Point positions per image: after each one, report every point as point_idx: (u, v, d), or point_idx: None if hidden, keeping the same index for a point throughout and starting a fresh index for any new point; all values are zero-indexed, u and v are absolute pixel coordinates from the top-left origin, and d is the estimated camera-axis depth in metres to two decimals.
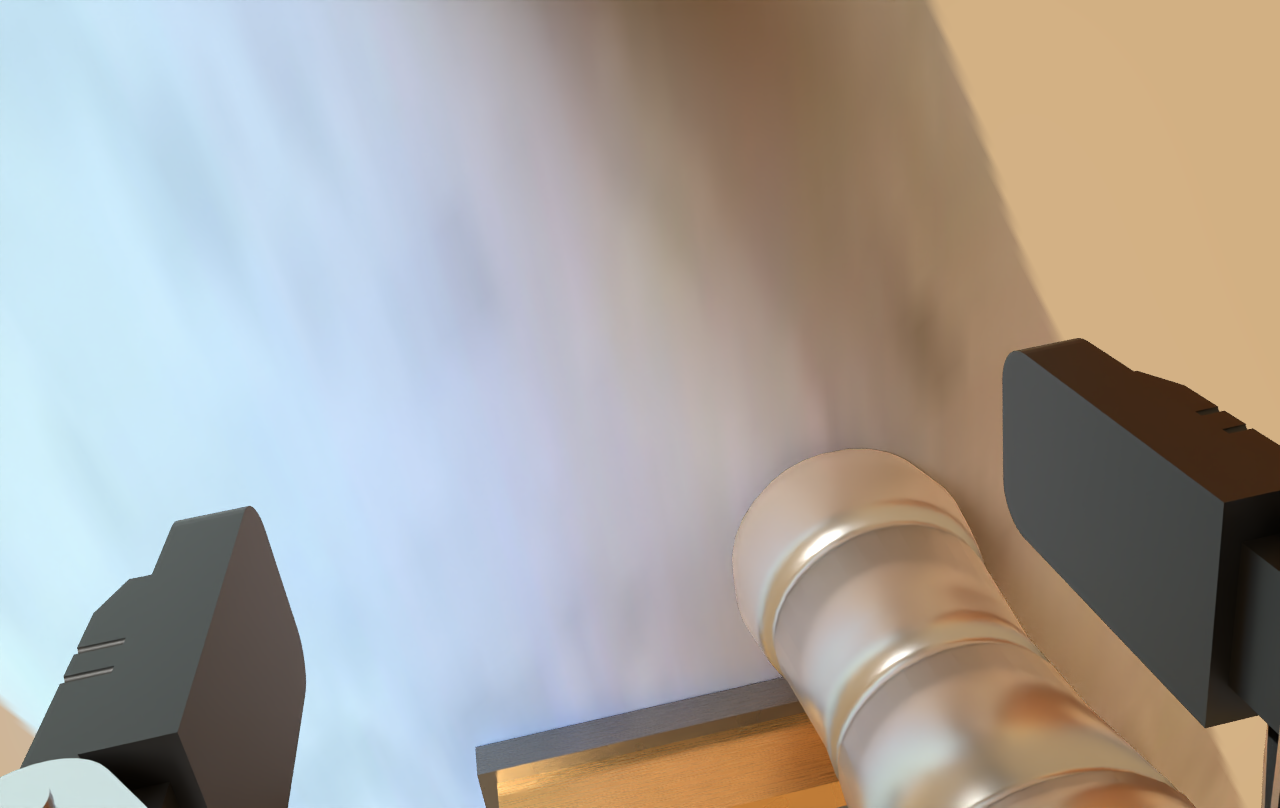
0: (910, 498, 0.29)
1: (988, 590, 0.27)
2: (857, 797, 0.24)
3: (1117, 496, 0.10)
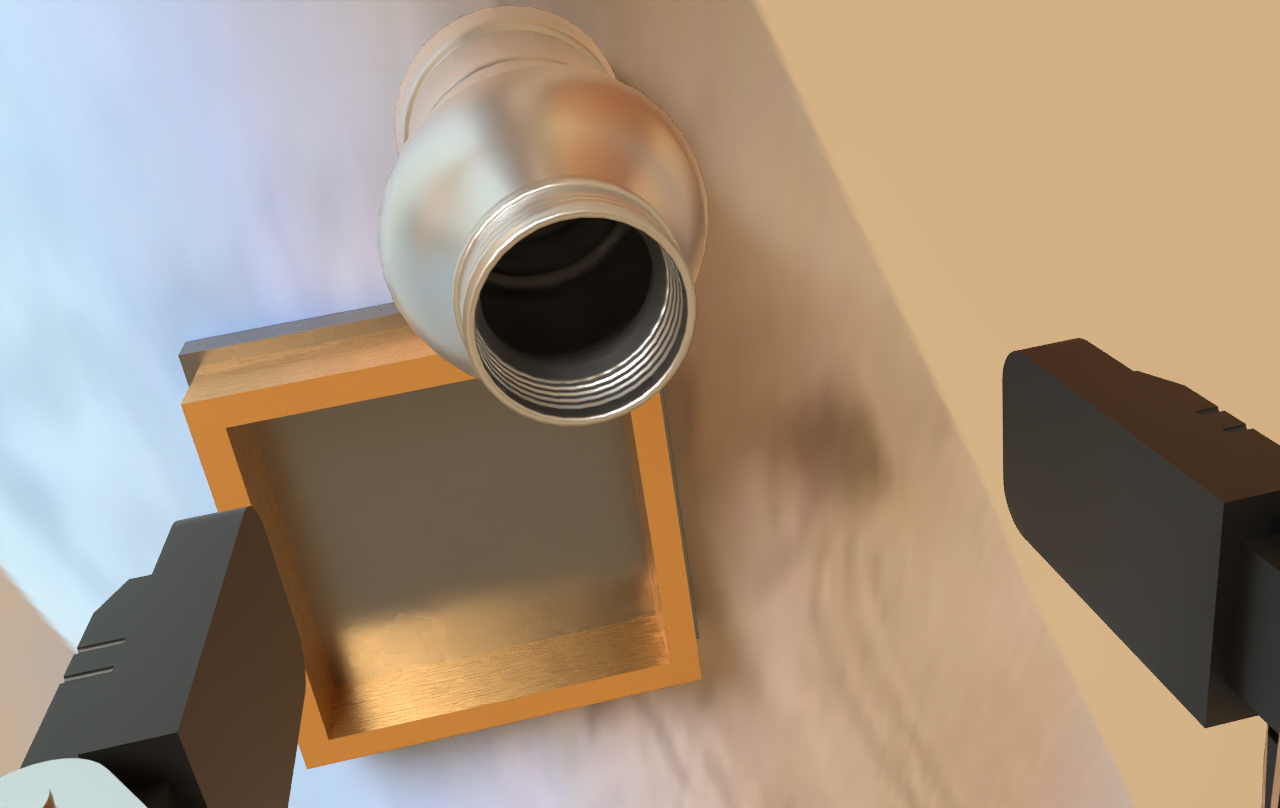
0: (537, 19, 0.31)
1: (579, 63, 0.29)
2: None
3: (1117, 495, 0.10)
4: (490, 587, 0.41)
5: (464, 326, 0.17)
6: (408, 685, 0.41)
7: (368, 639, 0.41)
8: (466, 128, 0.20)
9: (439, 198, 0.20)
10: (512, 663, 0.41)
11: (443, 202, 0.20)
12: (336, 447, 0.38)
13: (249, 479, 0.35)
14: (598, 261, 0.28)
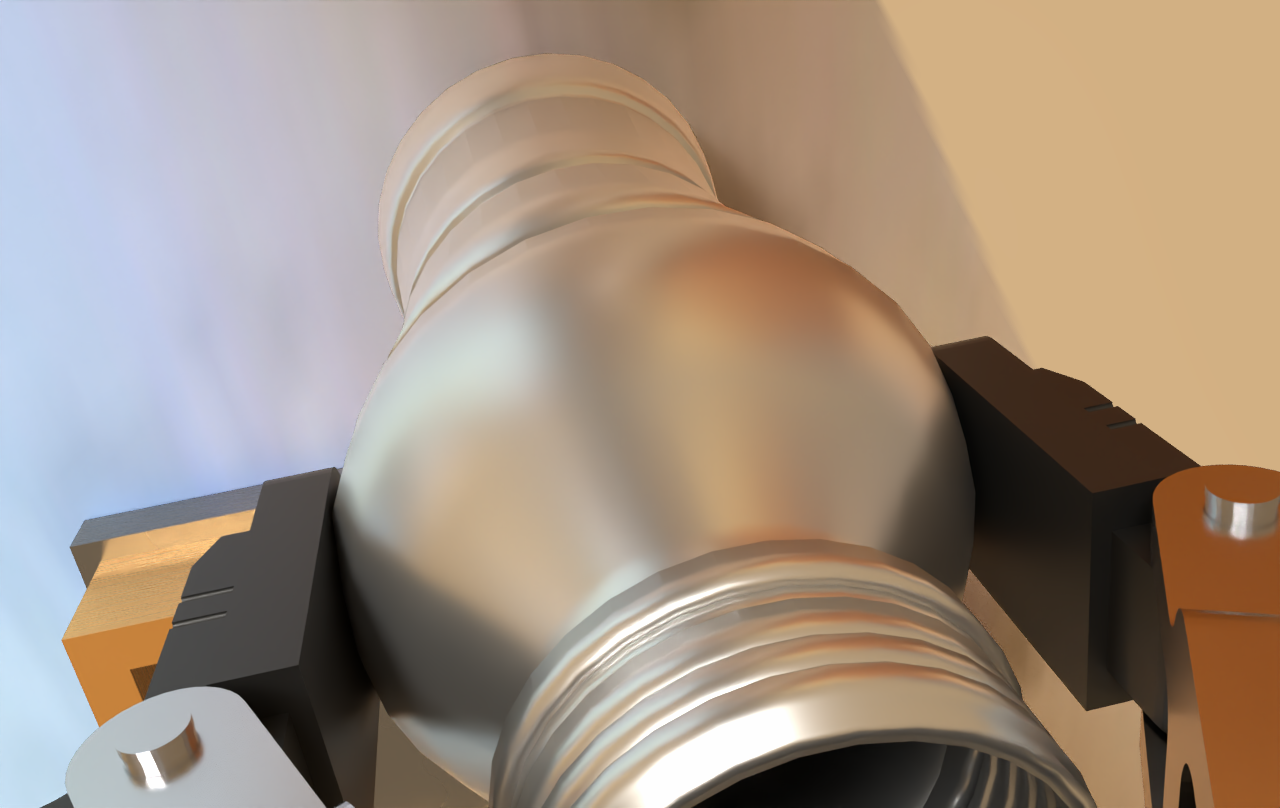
0: (595, 77, 0.20)
1: (671, 154, 0.18)
2: None
3: (1009, 488, 0.11)
4: None
5: None
6: None
7: None
8: (513, 371, 0.10)
9: (456, 532, 0.09)
10: None
11: (465, 544, 0.09)
12: None
13: None
14: None
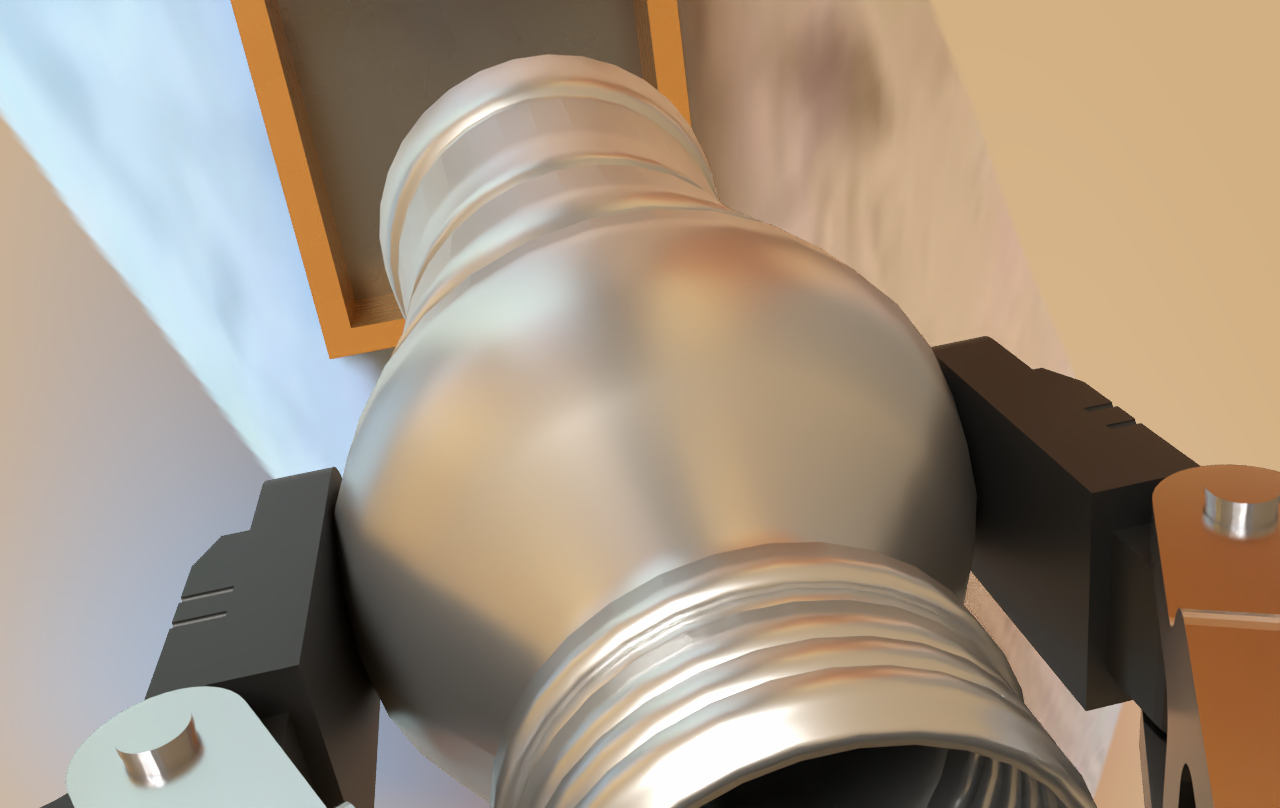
0: (596, 78, 0.20)
1: (672, 156, 0.18)
2: None
3: (1009, 488, 0.11)
4: None
5: None
6: None
7: None
8: (515, 372, 0.10)
9: (457, 534, 0.09)
10: None
11: (465, 547, 0.09)
12: (359, 36, 0.39)
13: (278, 39, 0.37)
14: None
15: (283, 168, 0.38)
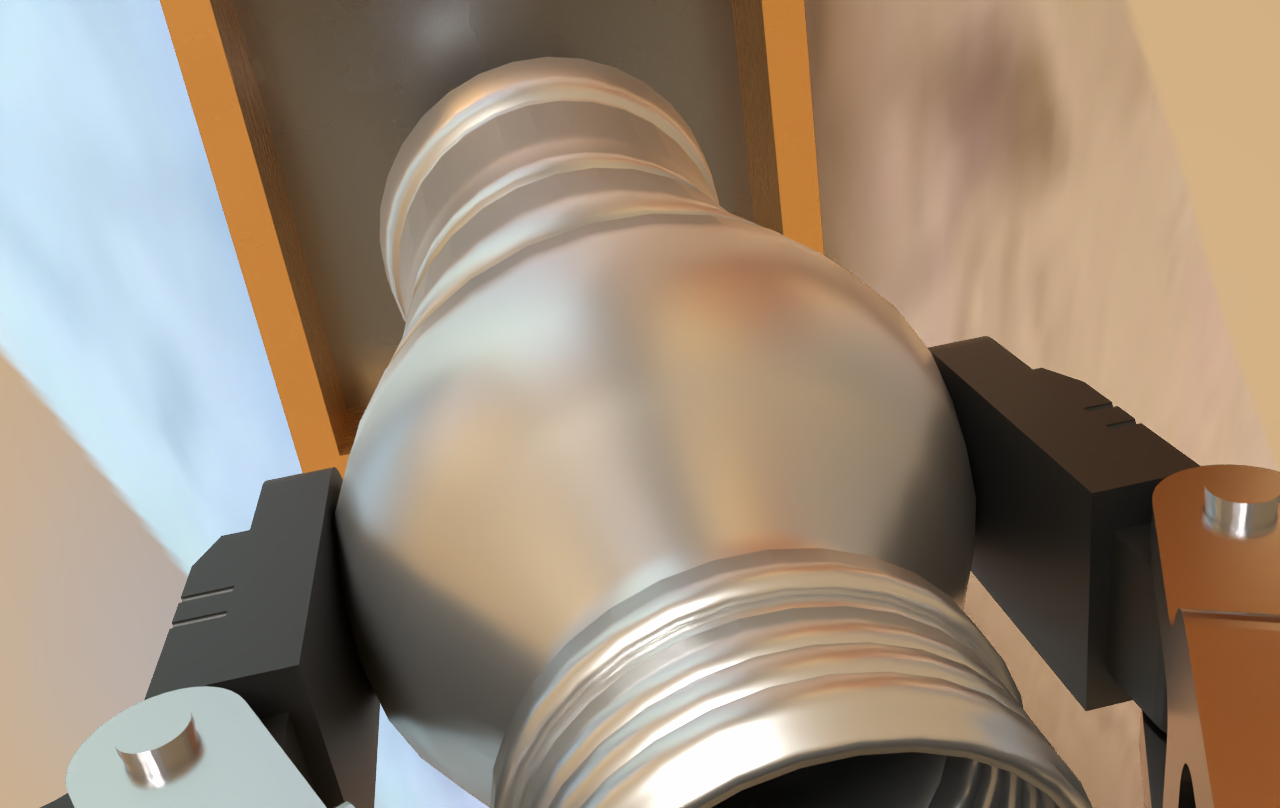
0: (596, 81, 0.20)
1: (672, 158, 0.18)
2: None
3: (1009, 488, 0.11)
4: None
5: None
6: None
7: (391, 343, 0.31)
8: (515, 377, 0.10)
9: (457, 539, 0.09)
10: None
11: (465, 553, 0.09)
12: (350, 48, 0.28)
13: (231, 53, 0.25)
14: None
15: (240, 236, 0.26)
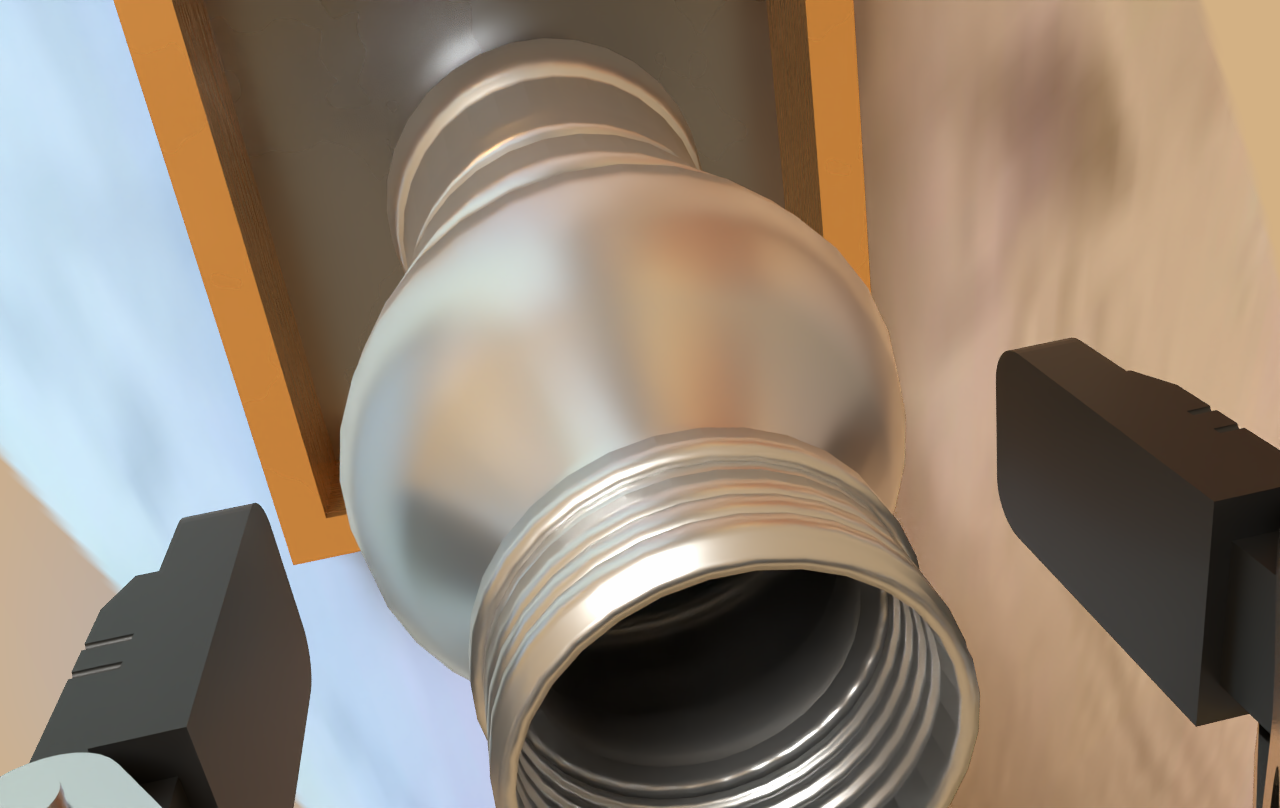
0: (588, 60, 0.22)
1: (655, 129, 0.19)
2: None
3: (1109, 495, 0.10)
4: None
5: (495, 779, 0.08)
6: None
7: None
8: (495, 299, 0.11)
9: (444, 435, 0.11)
10: None
11: (450, 444, 0.11)
12: (338, 60, 0.25)
13: (199, 67, 0.22)
14: None
15: (211, 275, 0.23)
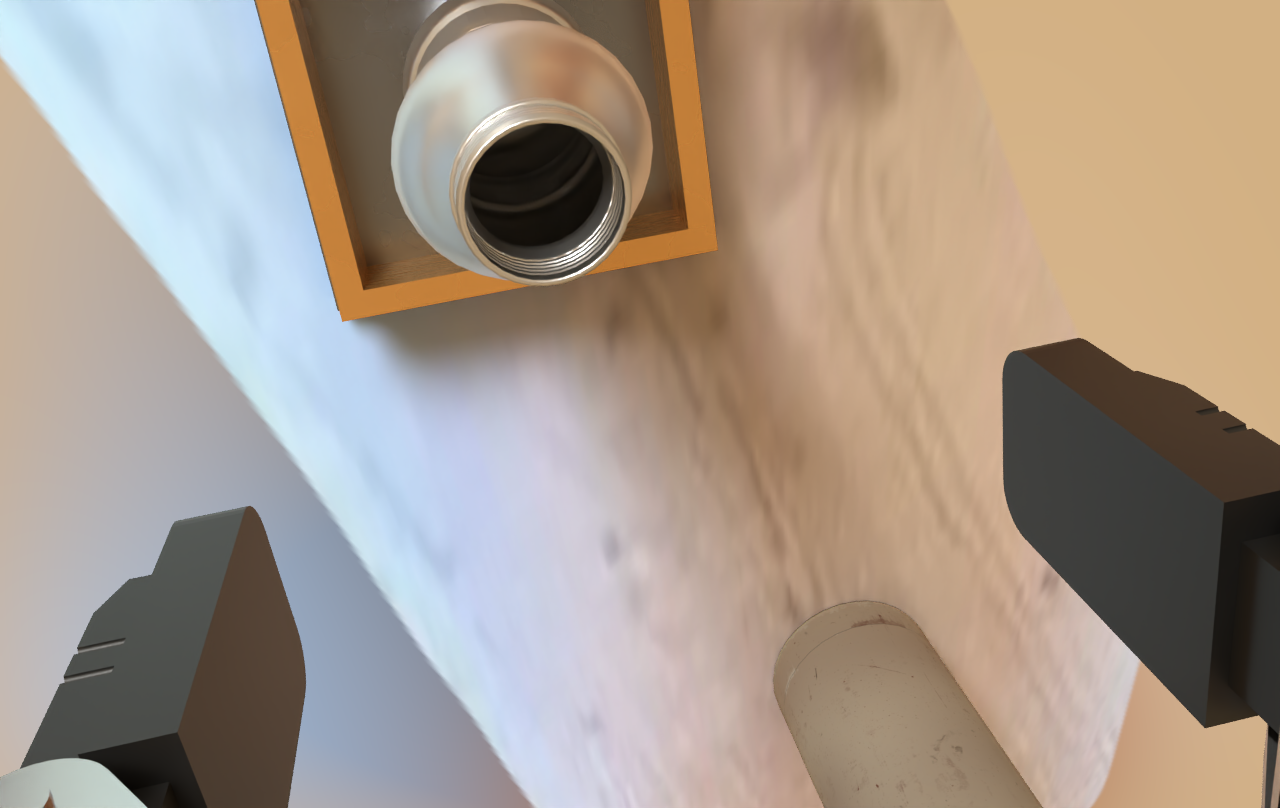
0: None
1: None
2: None
3: (1117, 496, 0.10)
4: None
5: (457, 207, 0.23)
6: (437, 260, 0.43)
7: (399, 217, 0.43)
8: (459, 68, 0.26)
9: (438, 120, 0.26)
10: None
11: (441, 123, 0.26)
12: (371, 1, 0.40)
13: (291, 1, 0.37)
14: (570, 190, 0.33)
15: (296, 128, 0.38)
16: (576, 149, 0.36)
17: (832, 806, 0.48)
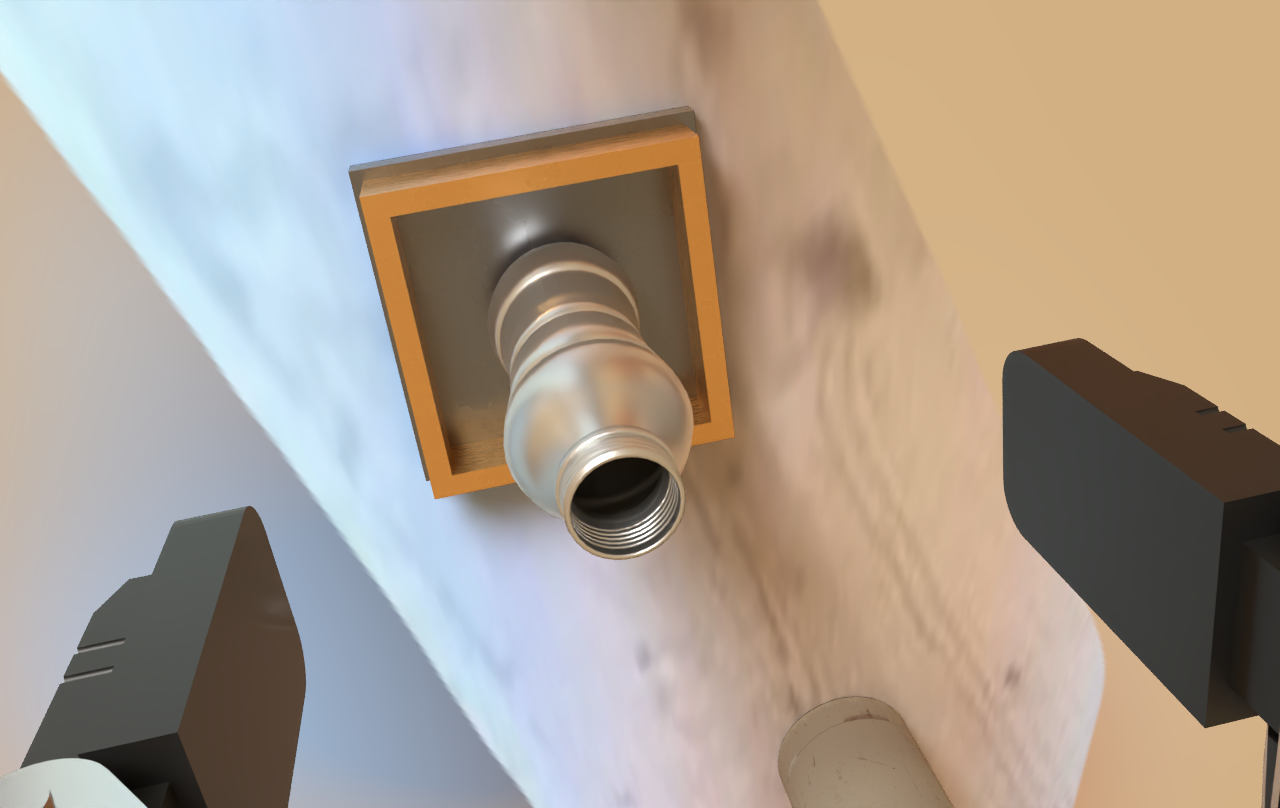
0: (583, 259, 0.47)
1: (613, 299, 0.45)
2: None
3: (1117, 496, 0.10)
4: None
5: (564, 511, 0.34)
6: None
7: (477, 409, 0.53)
8: (557, 387, 0.37)
9: (543, 428, 0.36)
10: None
11: (546, 431, 0.36)
12: (460, 249, 0.50)
13: (402, 262, 0.48)
14: None
15: (404, 357, 0.49)
16: None
17: None
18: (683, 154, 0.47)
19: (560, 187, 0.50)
